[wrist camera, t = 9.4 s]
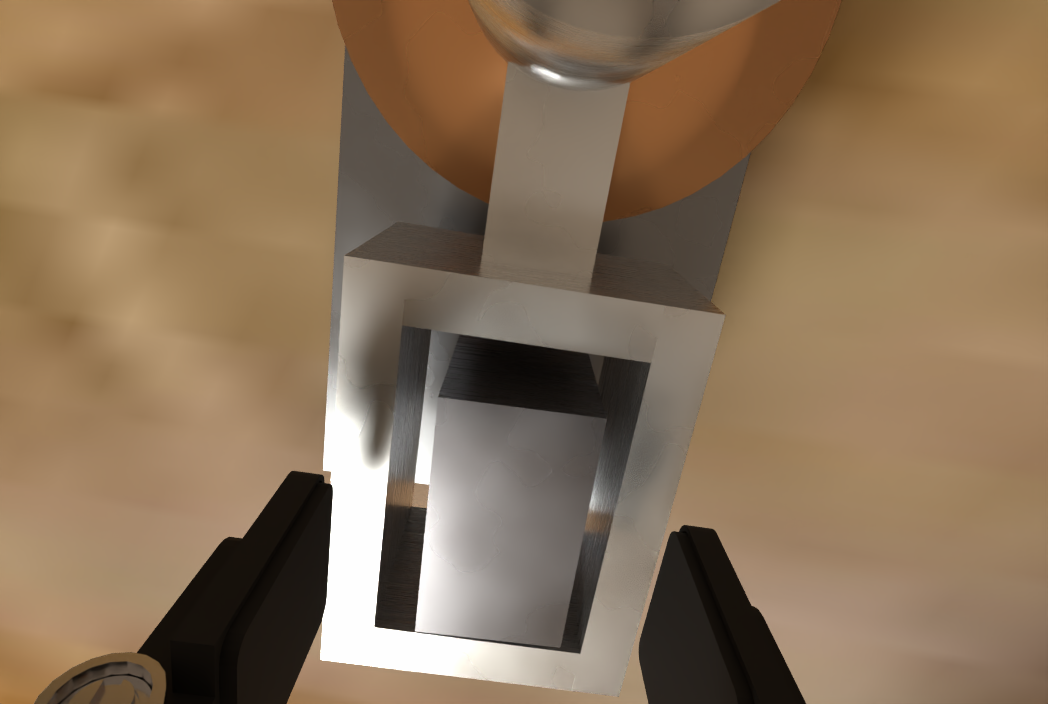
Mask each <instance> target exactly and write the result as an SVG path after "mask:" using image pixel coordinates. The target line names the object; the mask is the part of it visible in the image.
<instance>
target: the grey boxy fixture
mask: <svg viewBox="0 0 1048 704" xmlns="http://www.w3.org/2000/svg"><path fill="white" fill-rule="evenodd" d="M841 1H842V0H332V2H333V6H334V10H335V14H336V18H337V22H338V26H339V29H340V31H341V34H342V37H343V40H344V42H345V60H344V80H343V99H342V118H341V137H340V156H339V176H338V195H337V214H336V233H335V252H334V272H333V291H332V310H331V329H330V348H329V368H328V387H327V406H326V425H325V444H324V464H323V470H327V471H332V474H331V484H332V485H333V508H332V525H331V542H330V558H329V575H328V592H327V603H326V608H325V612H324V616H323V631H322V648H321V660H327V661H335V662H343V663H351V664H359V665H367V666H375V667H384V668H392V669H400V670H408V671H416V672H424V673H432V674H440V675H448V676H456V677H464V678H472V679H480V680H488V681H496V682H504V683H512V684H520V685H528V686H536V687H544V688H553V689H561V690H569V691H577V692H585V693H593V694H601V695H609V696H617V697H619V694H620V691H621V687H622V683H623V680H624V676H625V673H626V669H627V666H628V662H629V658H630V655H631V651H632V648H633V644H634V641H635V637H636V633H637V630H638V626H639V623H640V619H641V616H642V612H643V608H644V605H645V601H646V598H647V594H648V591H649V587H650V583H651V580H652V576H653V573H654V569H655V566H656V562H657V558H658V555H659V551H660V548H661V544H662V540H663V537H664V533H665V530H666V526H667V523H668V519H669V515H670V512H671V508H672V505H673V501H674V498H675V494H676V490H677V487H678V483H679V480H680V476H681V473H682V469H683V465H684V462H685V458H686V455H687V451H688V448H689V444H690V440H691V437H692V433H693V430H694V426H695V423H696V419H697V415H698V412H699V408H700V405H701V401H702V398H703V394H704V390H705V387H706V383H707V380H708V376H709V373H710V369H711V365H712V362H713V358H714V355H715V351H716V348H717V344H718V340H719V337H720V333H721V330H722V326H723V323H724V319H725V314H724V313H723V312H722V311H720V310H719V309H718V308H717V307H716V306H715V305H714V304H713V303H711V299H712V295H713V291H714V287H715V284H716V280H717V276H718V273H719V269H720V265H721V261H722V258H723V254H724V250H725V246H726V243H727V239H728V235H729V232H730V228H731V224H732V220H733V217H734V213H735V209H736V206H737V202H738V198H739V194H740V191H741V187H742V183H743V180H744V176H745V172H746V168H747V165H748V161H749V157H750V154H751V151H752V150H753V149H754V148H755V147H756V146H757V145H758V144H759V143H760V142H761V141H762V140H763V139H764V138H765V137H766V136H767V135H768V134H769V133H770V132H771V131H772V129H773V128H774V127H775V125H776V124H777V123H778V122H779V120H780V119H781V118H782V117H783V115H784V114H785V113H786V112H787V110H788V109H789V108H790V107H791V105H792V104H793V102H794V101H795V99H796V98H797V96H798V94H799V93H800V91H801V90H802V88H803V86H804V85H805V83H806V82H807V80H808V78H809V77H810V75H811V74H812V72H813V70H814V67H815V65H816V63H817V61H818V59H819V57H820V55H821V53H822V51H823V49H824V47H825V45H826V42H827V40H828V38H829V35H830V32H831V30H832V27H833V24H834V21H835V18H836V16H837V13H838V10H839V7H840V4H841ZM460 334H462V335H469V336H475V337H482V338H489V339H495V340H502V341H509V342H515V343H522V344H528V345H535V346H542V347H548V348H555V349H562V350H568V351H575V352H581V353H588V354H589V357H590V361H591V364H592V368H593V371H594V375H595V378H596V382H597V385H598V389H599V392H600V396H601V399H602V403H603V406H604V410H605V413H606V417H607V422H606V426H605V431H604V436H603V441H602V446H601V451H600V456H599V461H598V466H597V471H596V476H595V481H594V485H593V490H592V495H591V500H590V505H589V510H588V515H587V520H586V525H585V530H584V535H583V540H582V544H581V549H580V554H579V559H578V564H577V569H576V574H575V579H574V584H573V589H572V594H571V599H570V603H569V608H568V613H567V618H566V623H565V628H564V633H563V638H562V643H561V648H558V647H549V646H540V645H531V644H522V643H514V642H505V641H496V640H487V639H478V638H469V637H460V636H451V635H442V634H433V633H425V632H416V631H415V626H416V615H417V605H418V595H419V585H420V575H421V565H422V554H423V544H424V534H425V524H426V514H427V509H426V508H419V507H412V501H413V492H414V483H421V484H428V485H429V483H430V473H431V463H432V453H433V442H434V432H435V422H436V412H437V402H438V396H439V393H440V390H441V387H442V384H443V381H444V378H445V375H446V373H447V370H448V367H449V364H450V361H451V358H452V355H453V353H454V350H455V347H456V344H457V341H458V338H459V335H460Z"/></svg>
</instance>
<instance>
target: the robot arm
mask: <svg viewBox="0 0 1048 704" xmlns="http://www.w3.org/2000/svg"><path fill="white" fill-rule="evenodd" d="M332 508H333V485H332V484H327V483H324V476H323V475H320V474H312V473H305V472H298V471H291V472H290V473H289V474H288V476H287V477H286V479H285V480H284V481H283V483H282V484H281V486H280V487H279V488H278V490H277V491H276V493H275V494H274V495H273V497H272V498H271V499H270V501H269V502H268V504H267V505H266V506H265V508H264V509H263V511H262V512H261V513H260V515H259V516H258V518H257V519H256V520H255V522H254V523H253V525H252V526H251V527H250V529H249V530H248V532H247V533H246V534H245V536H244V537H243V539H242V538H234V537H228V538H226V539H224V540H223V541H222V542H221V543H220V544H219V546H218V547H217V548H216V550H215V551H214V552H213V554H212V555H211V556H210V557H209V559H208V560H207V561H206V563H205V564H204V565H203V567H202V568H201V569H200V571H199V572H198V573H197V575H196V576H195V577H194V578H193V580H192V581H191V582H190V584H189V585H188V586H187V588H186V589H185V590H184V592H183V593H182V594H181V596H180V597H179V598H178V599H177V601H176V602H175V603H174V605H173V606H172V607H171V609H170V610H169V611H168V613H167V614H166V615H165V617H164V618H163V619H162V620H161V622H160V623H159V624H158V626H157V627H156V628H155V630H154V631H153V632H152V634H151V635H150V636H149V638H148V639H147V640H146V642H145V643H144V644H143V645H142V647H141V648H140V649H139V651H138V652H137V653H133V652H125V653H111V654H108V655H104V656H100V657H96V658H93V659H90V660H88V661H86V662H84V663H81V664H79V665H77V666H75V667H73V668H71V669H69V670H68V671H67V672H65V673H64V674H62V675H61V676H59V677H58V678H56V679H55V680H53V681H52V682H51V683H50V685H49V686H48V687H47V688H46V689H45V690H44V691H43V692H42V693H41V694H40V695H39V696H38V698H37V699H36V701H35V703H34V704H286V703H287V701H288V699H289V696H290V694H291V692H292V689H293V687H294V685H295V682H296V680H297V678H298V675H299V673H300V671H301V668H302V666H303V664H304V661H305V659H306V657H307V654H308V652H309V650H310V647H311V645H312V643H313V640H314V638H315V636H316V633H317V631H318V629H319V626H320V624H321V621H322V619H323V616H324V612H325V608H326V603H327V592H328V575H329V558H330V542H331V525H332ZM639 661H640V666H641V670H642V675H643V680H644V684H645V689H646V694H647V698H648V703H649V704H806V703H805V700H804V698H803V696H802V694H801V692H800V690H799V688H798V686H797V684H796V682H795V680H794V678H793V676H792V674H791V672H790V670H789V668H788V666H787V664H786V662H785V660H784V658H783V656H782V654H781V652H780V650H779V648H778V646H777V644H776V642H775V640H774V638H773V636H772V634H771V632H770V630H769V628H768V626H767V624H766V621H765V619H764V617H763V616H762V614H761V613H760V611H759V610H758V609H757V608H755V607H754V606H751V604H750V602H749V600H748V598H747V596H746V594H745V591H744V589H743V587H742V585H741V583H740V581H739V579H738V577H737V575H736V573H735V571H734V568H733V566H732V564H731V562H730V560H729V558H728V556H727V554H726V552H725V550H724V548H723V546H722V543H721V541H720V539H719V537H718V535H717V533H716V532H715V530H713V529H709V528H702V527H695V526H688V525H684V526H682V527H681V529H680V531H679V532H675V531H673V532H671V534H670V536H669V539H668V542H667V546H666V550H665V553H664V557H663V560H662V564H661V567H660V571H659V574H658V578H657V581H656V585H655V588H654V592H653V595H652V599H651V602H650V606H649V609H648V613H647V617H646V620H645V624H644V627H643V631H642V634H641V638H640V642H639Z"/></svg>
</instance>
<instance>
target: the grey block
mask: <svg viewBox="0 0 1048 704" xmlns="http://www.w3.org/2000/svg"><path fill="white" fill-rule="evenodd" d="M606 422H607V417H606V413H605V410H604V406H603V403H602V399H601V396H600V392H599V389H598V385H597V382H596V378H595V375H594V371H593V368H592V364H591V361H590V357H589V354H588V353H581V352H575V351H568V350H562V349H555V348H548V347H542V346H535V345H528V344H522V343H515V342H509V341H502V340H495V339H489V338H482V337H475V336H469V335H462V334H460V335H459V338H458V341H457V344H456V347H455V350H454V353H453V355H452V358H451V361H450V364H449V367H448V370H447V373H446V375H445V378H444V381H443V384H442V387H441V390H440V393H439V396H438V402H437V412H436V422H435V432H434V442H433V453H432V463H431V473H430V483H429V493H428V503H427V514H426V524H425V534H424V544H423V554H422V565H421V575H420V585H419V595H418V605H417V615H416V626H415V631H416V632H425V633H433V634H442V635H451V636H460V637H469V638H478V639H487V640H496V641H505V642H514V643H522V644H531V645H540V646H549V647H558V648H561V643H562V638H563V633H564V628H565V623H566V618H567V613H568V608H569V603H570V599H571V594H572V589H573V584H574V579H575V574H576V569H577V564H578V559H579V554H580V549H581V544H582V540H583V535H584V530H585V525H586V520H587V515H588V510H589V505H590V500H591V495H592V490H593V485H594V481H595V476H596V471H597V466H598V461H599V456H600V451H601V446H602V441H603V436H604V431H605V426H606Z"/></svg>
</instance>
